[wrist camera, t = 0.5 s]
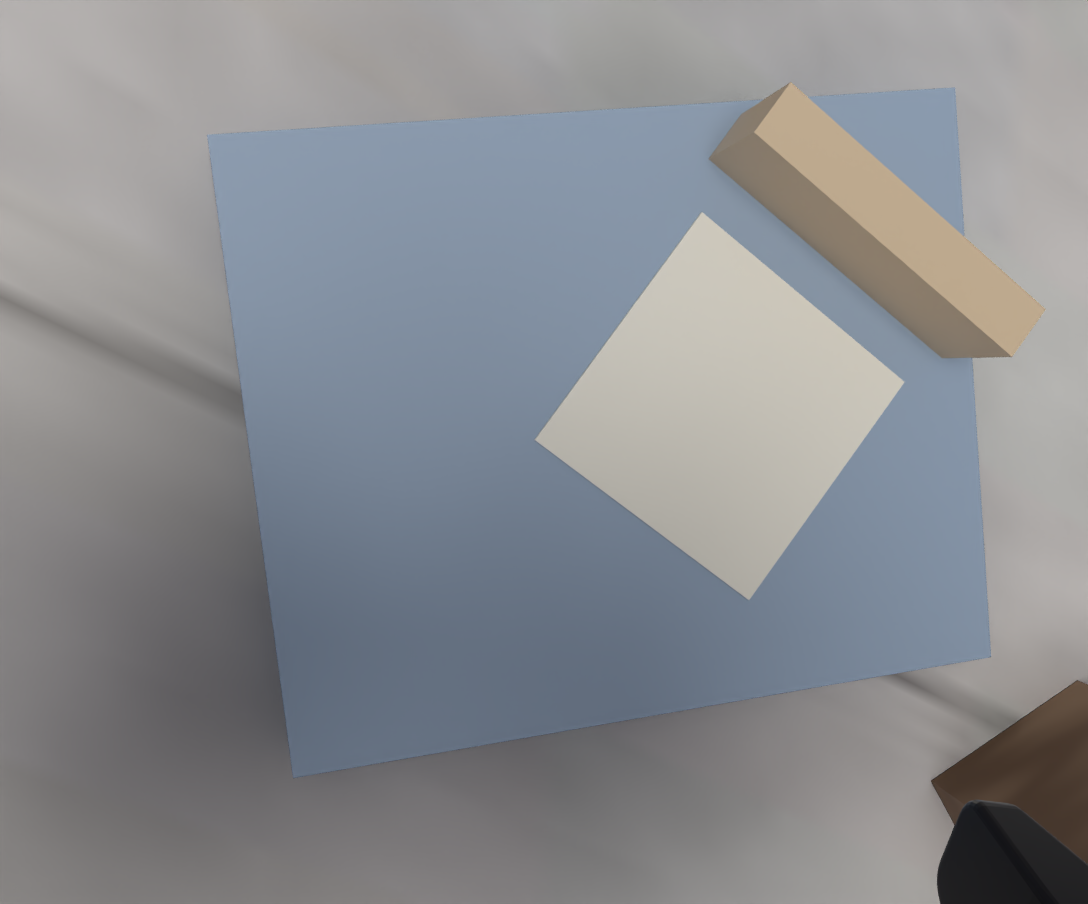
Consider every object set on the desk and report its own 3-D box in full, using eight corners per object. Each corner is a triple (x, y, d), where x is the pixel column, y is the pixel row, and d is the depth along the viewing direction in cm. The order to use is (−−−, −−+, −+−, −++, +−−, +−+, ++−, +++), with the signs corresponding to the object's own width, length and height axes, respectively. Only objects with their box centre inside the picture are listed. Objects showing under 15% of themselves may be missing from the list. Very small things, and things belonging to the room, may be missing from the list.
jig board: (963, 643, 25) (1066, 688, 22) (295, 756, 22) (286, 830, 19) (927, 101, 24) (1031, 53, 20) (214, 147, 21) (188, 102, 18)
